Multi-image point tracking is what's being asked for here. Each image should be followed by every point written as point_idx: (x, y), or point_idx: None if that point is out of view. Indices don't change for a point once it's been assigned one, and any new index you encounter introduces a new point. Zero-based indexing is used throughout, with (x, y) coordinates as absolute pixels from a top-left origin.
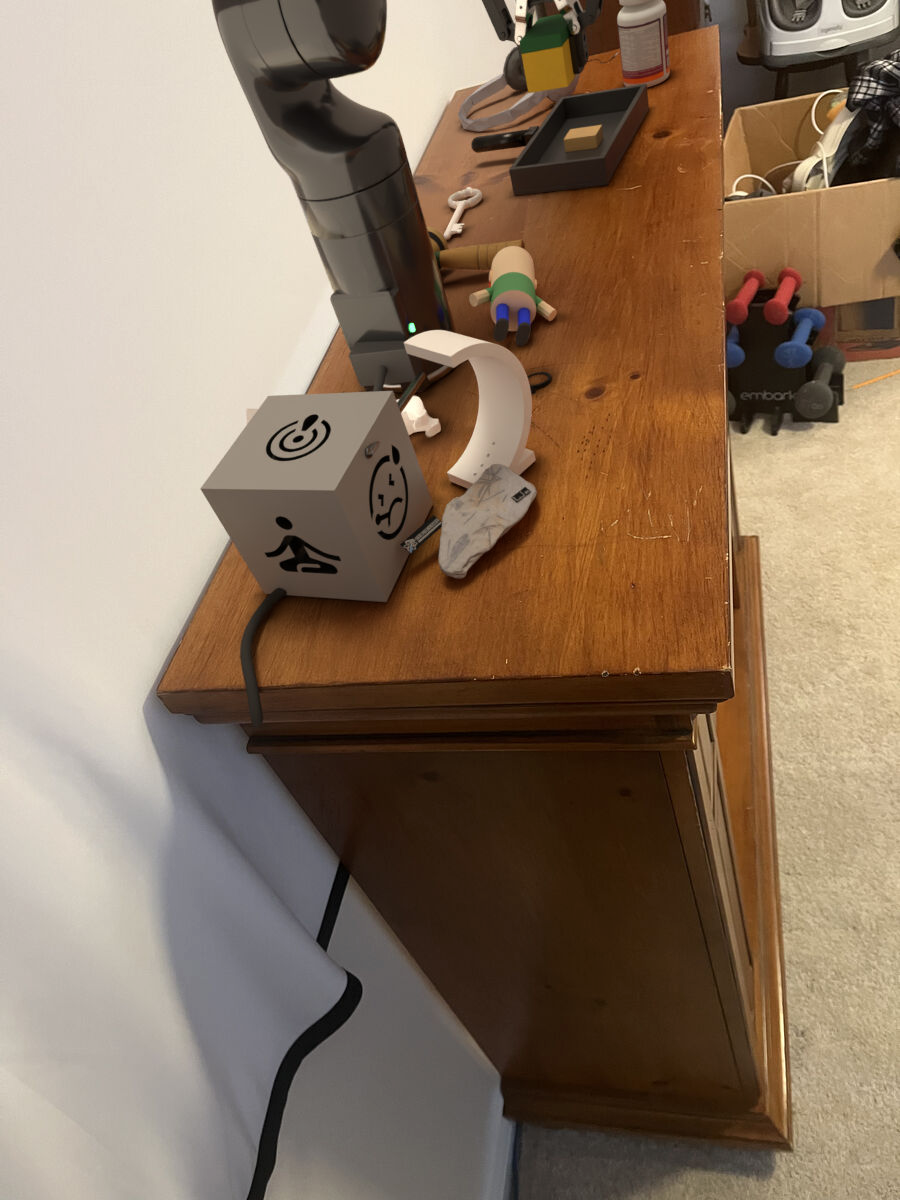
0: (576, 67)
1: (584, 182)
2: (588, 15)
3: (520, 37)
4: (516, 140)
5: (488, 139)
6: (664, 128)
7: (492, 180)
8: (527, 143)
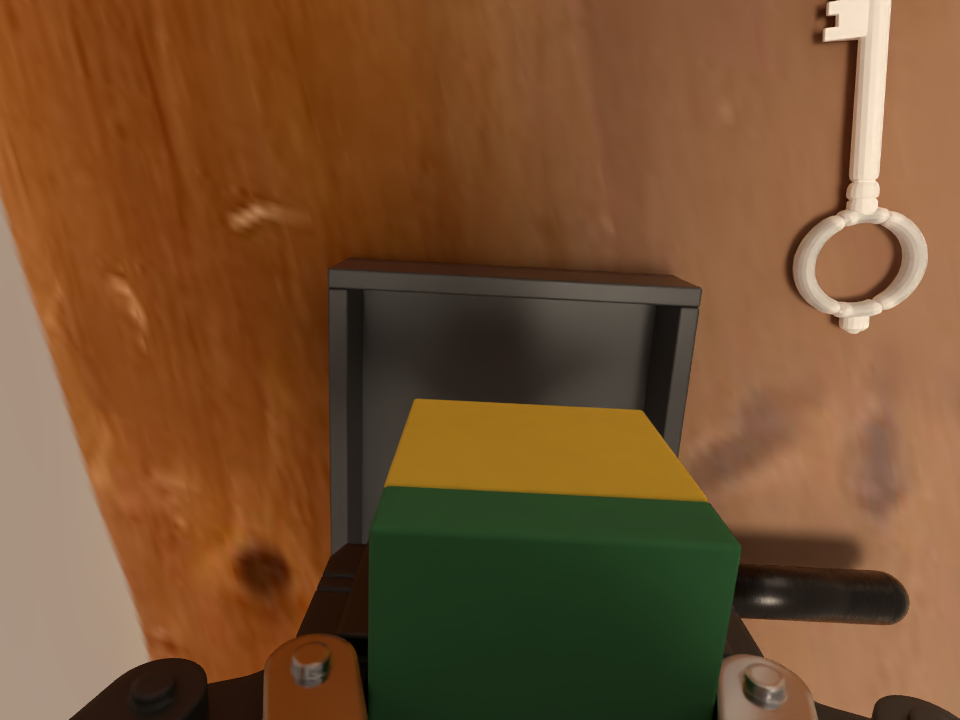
0: None
1: (420, 263)
2: (157, 708)
3: (757, 683)
4: None
5: (841, 590)
6: (266, 613)
7: (780, 425)
8: None
